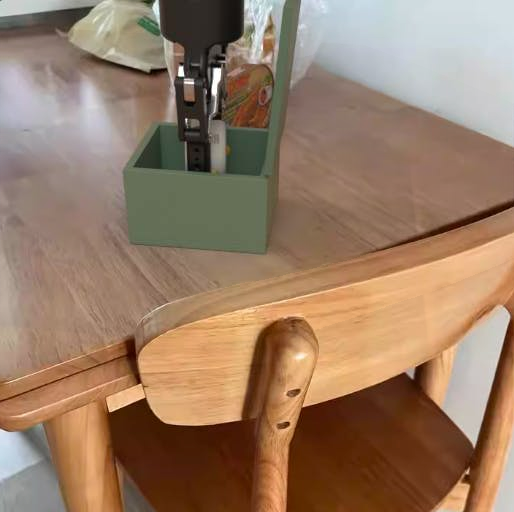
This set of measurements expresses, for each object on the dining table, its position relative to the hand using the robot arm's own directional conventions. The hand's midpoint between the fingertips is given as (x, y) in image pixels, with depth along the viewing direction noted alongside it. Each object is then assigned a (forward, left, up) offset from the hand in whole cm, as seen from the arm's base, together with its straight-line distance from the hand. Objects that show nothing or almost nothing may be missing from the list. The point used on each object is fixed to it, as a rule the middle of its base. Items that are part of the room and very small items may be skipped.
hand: (205, 162), depth 73 cm
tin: (0, +23, -7) cm, 24 cm away
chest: (0, 0, -6) cm, 6 cm away
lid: (+7, 0, +9) cm, 12 cm away
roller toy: (0, 0, -2) cm, 2 cm away
